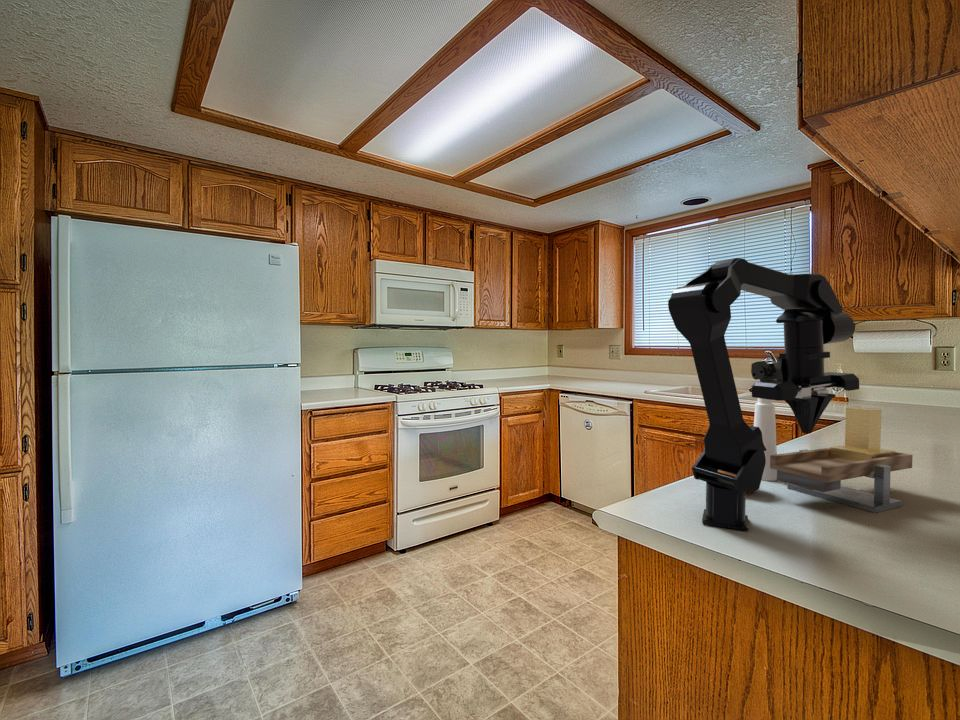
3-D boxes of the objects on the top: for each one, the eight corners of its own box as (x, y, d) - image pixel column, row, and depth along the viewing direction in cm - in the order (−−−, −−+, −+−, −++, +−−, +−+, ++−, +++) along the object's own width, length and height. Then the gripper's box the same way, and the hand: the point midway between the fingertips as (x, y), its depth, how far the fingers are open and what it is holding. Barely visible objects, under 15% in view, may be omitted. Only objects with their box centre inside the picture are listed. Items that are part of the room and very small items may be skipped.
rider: (871, 465, 86) (872, 411, 86) (830, 457, 93) (831, 407, 92) (895, 461, 89) (896, 409, 89) (853, 453, 96) (855, 405, 96)
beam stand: (875, 512, 80) (876, 469, 79) (787, 488, 93) (788, 451, 93) (901, 506, 83) (902, 464, 83) (812, 483, 97) (813, 447, 96)
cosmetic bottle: (786, 478, 100) (788, 377, 99) (768, 482, 97) (770, 378, 97) (759, 472, 106) (760, 375, 105) (741, 475, 103) (743, 376, 102)
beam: (829, 494, 78) (830, 468, 78) (767, 478, 88) (768, 454, 88) (914, 478, 88) (915, 455, 88) (850, 465, 98) (850, 444, 98)
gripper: (801, 342, 93) (803, 419, 94) (725, 350, 88) (729, 431, 89) (860, 342, 82) (862, 429, 83) (778, 351, 77) (781, 444, 78)
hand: (806, 433), depth 84 cm, fingers closed
